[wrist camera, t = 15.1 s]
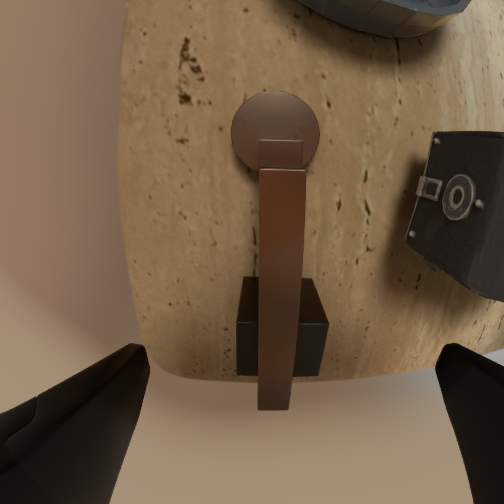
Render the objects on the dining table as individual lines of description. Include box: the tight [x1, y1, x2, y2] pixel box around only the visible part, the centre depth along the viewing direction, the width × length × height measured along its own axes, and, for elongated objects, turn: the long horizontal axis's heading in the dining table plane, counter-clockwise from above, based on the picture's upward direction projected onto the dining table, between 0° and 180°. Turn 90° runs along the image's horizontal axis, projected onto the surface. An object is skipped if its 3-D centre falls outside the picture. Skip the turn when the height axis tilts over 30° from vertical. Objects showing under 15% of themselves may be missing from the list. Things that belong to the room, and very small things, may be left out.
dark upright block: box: [236, 276, 329, 377], centre depth 18 cm, size 4×5×6 cm
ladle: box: [231, 91, 320, 410], centre depth 15 cm, size 18×5×8 cm, turn 0°
